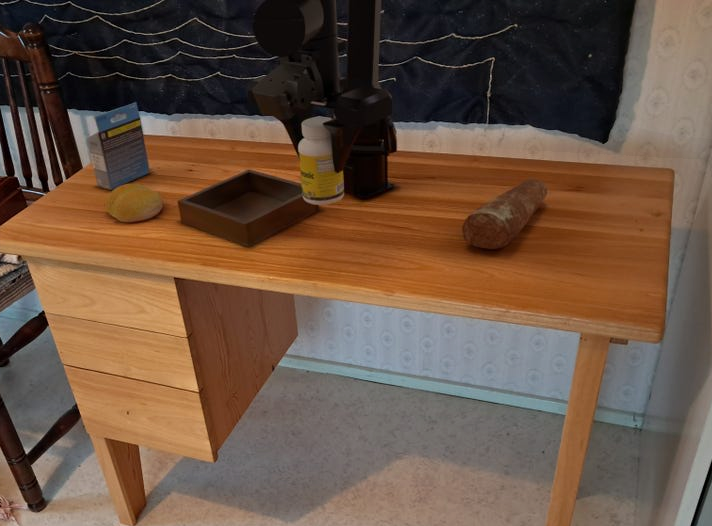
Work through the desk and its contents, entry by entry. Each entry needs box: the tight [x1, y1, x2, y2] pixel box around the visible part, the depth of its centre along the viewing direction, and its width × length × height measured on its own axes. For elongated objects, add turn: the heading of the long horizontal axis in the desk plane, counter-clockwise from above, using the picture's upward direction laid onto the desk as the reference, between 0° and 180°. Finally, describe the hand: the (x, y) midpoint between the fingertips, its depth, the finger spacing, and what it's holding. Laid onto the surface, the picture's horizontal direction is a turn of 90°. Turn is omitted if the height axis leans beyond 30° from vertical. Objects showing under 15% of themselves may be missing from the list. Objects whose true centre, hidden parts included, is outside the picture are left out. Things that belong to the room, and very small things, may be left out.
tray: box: [177, 168, 320, 248], centre depth 109 cm, size 15×15×4 cm
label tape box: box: [86, 101, 151, 191], centre depth 123 cm, size 9×4×12 cm, turn 141°
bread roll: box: [104, 183, 164, 223], centre depth 113 cm, size 8×9×4 cm
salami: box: [461, 178, 548, 250], centre depth 98 cm, size 6×19×6 cm, turn 144°
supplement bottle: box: [298, 116, 345, 206], centre depth 92 cm, size 5×5×10 cm
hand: (321, 167), depth 93 cm, fingers closed on supplement bottle, 5 cm apart
